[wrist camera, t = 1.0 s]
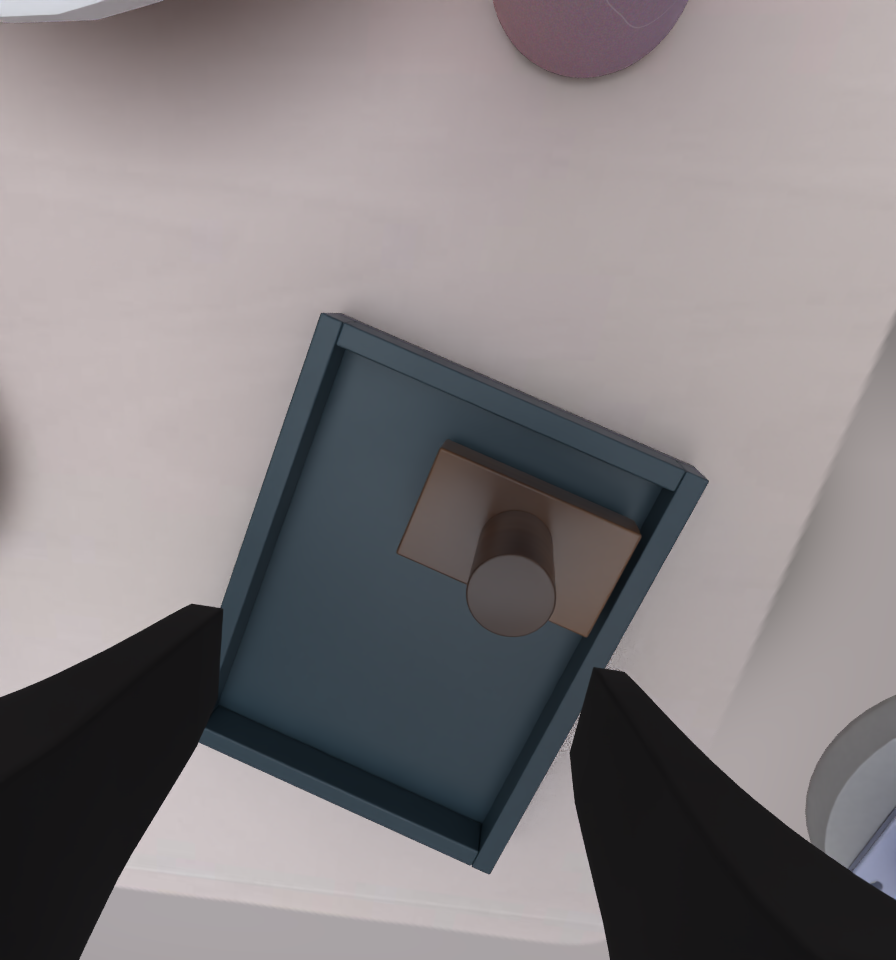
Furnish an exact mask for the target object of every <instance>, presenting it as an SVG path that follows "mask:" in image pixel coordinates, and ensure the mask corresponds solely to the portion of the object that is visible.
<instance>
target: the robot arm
mask: <svg viewBox="0 0 896 960" xmlns="http://www.w3.org/2000/svg"><path fill="white" fill-rule="evenodd" d="M222 624H223V609H222V608H216V607H209V606H203V605H196V604H190V605H188V606H186V607H184V608H182V609H180V610H178V611H176V612H175V613H173V614H171V615H169V616H167V617H165V618H164V619H162V620H160V621H158V622H156V623H155V624H153V625H151V626H149V627H147V628H146V629H144V630H142V631H140V632H138V633H137V634H135V635H133V636H131V637H129V638H127V639H125V640H124V641H122V642H120V643H118V644H116V645H114V646H112V647H111V648H109V649H107V650H105V651H103V652H101V653H99V654H97V655H95V656H93V657H91V658H88V659H86V660H84V661H82V662H80V663H78V664H76V665H74V666H72V667H70V668H68V669H66V670H64V671H62V672H60V673H58V674H56V675H53V676H51V677H49V678H47V679H44V680H42V681H40V682H37V683H35V684H33V685H30V686H28V687H26V688H23V689H21V690H18V691H15V692H13V693H10V694H8V695H5V696H3V697H0V960H79V959H80V956H81V954H82V952H83V950H84V948H85V945H86V944H87V941H88V939H89V937H90V935H91V933H92V931H93V929H94V927H95V925H96V923H97V921H98V919H99V917H100V915H101V912H102V910H103V908H104V906H105V904H106V902H107V900H108V898H109V896H110V894H111V892H112V890H113V888H114V886H115V884H116V882H117V880H118V878H119V876H120V874H121V872H122V871H123V869H124V867H125V865H126V863H127V862H128V860H129V858H130V856H131V854H132V853H133V851H134V849H135V848H136V846H137V844H138V843H139V841H140V840H141V838H142V836H143V835H144V833H145V831H146V830H147V828H148V826H149V825H150V823H151V821H152V820H153V818H154V816H155V815H156V813H157V812H158V810H159V808H160V807H161V805H162V803H163V802H164V800H165V798H166V797H167V795H168V793H169V792H170V790H171V789H172V787H173V785H174V784H175V782H176V780H177V779H178V777H179V775H180V774H181V772H182V770H183V769H184V767H185V765H186V764H187V762H188V760H189V759H190V757H191V755H192V753H193V752H194V750H195V748H196V747H197V745H198V742H199V740H200V738H201V736H202V734H203V731H204V729H205V727H206V725H207V723H208V720H209V718H210V716H211V713H212V711H213V709H214V706H215V704H216V702H217V699H218V688H219V672H220V656H221V640H222ZM570 760H571V771H572V781H573V790H574V799H575V805H576V810H577V814H578V819H579V823H580V827H581V832H582V836H583V840H584V845H585V849H586V853H587V857H588V861H589V866H590V870H591V874H592V878H593V882H594V887H595V891H596V895H597V899H598V903H599V908H600V912H601V916H602V920H603V925H604V930H605V935H606V940H607V945H608V950H609V956H610V960H896V807H895V809H894V810H893V811H892V813H891V814H890V815H889V816H888V818H887V819H886V820H885V822H884V823H883V824H882V825H881V827H880V828H879V829H878V831H877V832H876V833H875V835H874V836H873V837H872V838H871V840H870V841H869V842H868V844H867V845H866V846H865V848H864V849H863V850H862V851H861V853H860V854H859V855H858V857H857V858H856V859H855V861H854V862H853V863H852V864H851V866H850V867H849V868H848V869H847V868H845V867H844V866H842V865H841V864H839V863H838V862H837V861H835V860H834V859H832V858H831V857H829V856H828V855H827V854H825V853H824V852H822V851H821V850H819V849H818V848H817V847H815V846H814V845H812V844H811V843H809V842H808V841H807V840H805V839H804V838H803V837H801V836H800V835H799V834H797V833H796V832H794V831H793V830H792V829H791V828H789V827H788V826H787V825H785V824H784V823H783V822H782V821H780V820H779V819H778V818H777V817H776V816H774V815H773V814H772V813H771V812H769V811H768V810H767V809H766V808H764V807H763V806H762V805H761V804H759V803H758V802H757V801H755V800H754V799H753V798H752V797H751V796H750V795H749V794H747V793H746V792H745V791H744V790H743V789H741V788H740V787H739V786H738V785H737V784H736V783H735V782H734V781H733V780H732V779H731V778H729V777H728V776H727V775H726V774H725V773H724V772H723V771H722V770H721V769H720V768H719V767H717V766H716V765H715V764H714V763H713V762H712V761H711V760H710V759H709V758H708V757H707V756H706V755H705V754H704V753H703V752H702V751H701V750H700V749H699V748H698V747H697V746H696V745H695V744H694V743H693V742H692V741H691V740H690V739H689V738H688V737H687V736H686V735H685V734H684V733H683V732H682V731H681V730H680V729H679V728H678V727H677V726H676V725H675V724H674V723H673V722H672V721H671V720H670V719H669V718H668V717H667V715H666V714H665V713H664V712H663V711H662V710H661V709H660V708H659V707H658V706H657V705H656V704H655V703H654V702H653V701H652V700H651V698H650V697H649V696H648V695H647V694H646V693H645V692H644V691H643V690H642V689H641V688H640V687H639V686H638V685H637V684H636V683H635V682H634V681H633V680H632V679H631V678H630V677H629V676H628V675H627V674H626V673H625V672H622V671H616V670H609V669H603V668H597V667H593V670H592V674H591V677H590V681H589V685H588V688H587V692H586V695H585V699H584V703H583V706H582V710H581V714H580V717H579V721H578V725H577V728H576V732H575V735H574V739H573V743H572V746H571V750H570ZM874 881H876V882H875V883H872V884H870V883H871V882H874Z"/></svg>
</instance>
